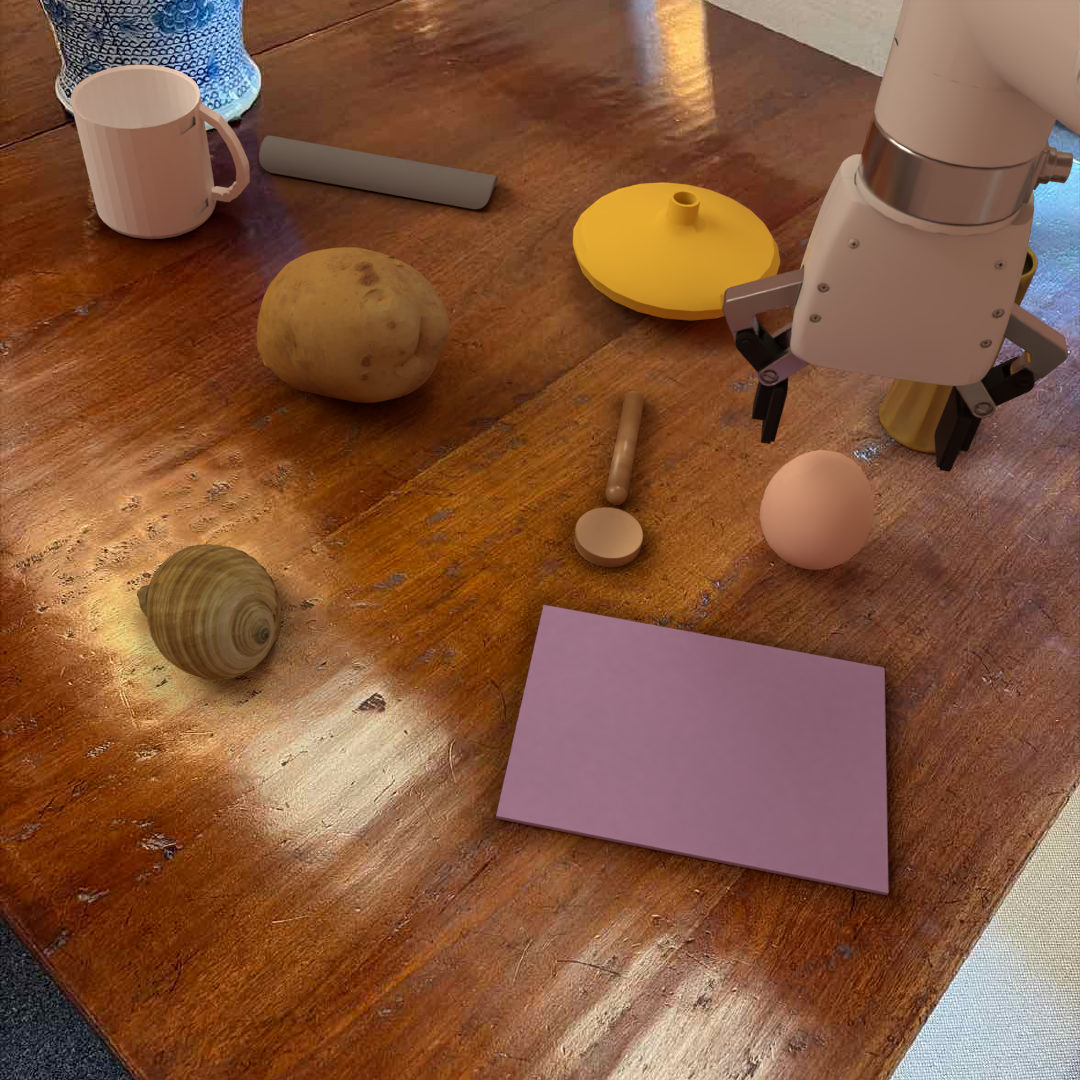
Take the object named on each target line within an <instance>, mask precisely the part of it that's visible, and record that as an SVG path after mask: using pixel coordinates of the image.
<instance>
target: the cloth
mask: <svg viewBox="0 0 1080 1080" xmlns="http://www.w3.org/2000/svg"><path fill="white" fill-rule="evenodd" d="M537 628H538V629H537V633H536V636H535V641H534V647H533V650H532V654H531V660H530V663H529V667H528V672H527V677H526V682H525V686H524V690H523V694H522V698H521V699H522V700H521V704H520V708H519V713H518V716H517V720H516V721H517V722H516V726H515V731H514V735H513V739H512V744H511V749H510V753H509V756H508V761H507V767H506V771H505V775H504V779H503V782H502V783H503V784H502V788H501V793H500V797H499V802H498V805H497V811H496V814H495V819H497V820H502V821H507V822H511V823H518V824H522V825H527V826H531V827H537V828H541V829H542V828H543V829H547V830H552V831H558V832H562V833H568V834H571V835H572V834H574V835H578V836H582V837H587V838H594V839H597V840H602V841H609V842H614V843H618V844H623V845H629V846H633V847H639V848H644V849H649V850H654V851H659V852H664V853H668V854H674V855H679V856H685V857H690V858H694V859H699V860H705V861H710V862H715V863H720V864H726V865H730V866H735V867H741V868H746V869H749V870H756V871H761V872H766V873H771V874H776V875H781V876H787V877H790V878H797V879H802V880H807V881H813V882H815V883H816V882H817V883H822V884H827V885H833V886H836V887H837V886H838V887H841V888H847V889H853V890H858V891H862V892H867V893H871V894H872V893H873V894H878V895H883V896H888V894H889V891H890V889H889V841H888V840H889V839H888V837H889V836H888V835H889V834H888V783H887V782H888V781H887V729H886V727H887V725H886V724H887V723H886V677H885V676H886V675H885V674H886V673H885V672H886V669H885V667H883V666H877V665H873V664H866V663H861V662H856V661H850V660H845V659H840V658H834V657H828V656H823V655H818V654H812V653H807V652H802V651H797V650H791V649H786V648H780V647H775V646H770V645H765V644H764V645H763V644H759V643H753V642H747V641H741V640H738V639H737V640H736V639H733V638H726V637H720V636H716V635H711V634H706V633H705V634H704V633H698V632H695V631H689V630H682V629H677V628H672V627H666V626H661V625H655V624H651V623H645V622H639V621H634V620H629V619H625V618H624V619H623V618H618V617H613V616H607V615H603V614H602V615H601V614H596V613H591V612H585V611H579V610H574V609H569V608H564V607H558V606H554V605H553V606H552V605H548V604H543V605H542V610H541V614H540V618H539V623H538V627H537Z"/></svg>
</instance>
